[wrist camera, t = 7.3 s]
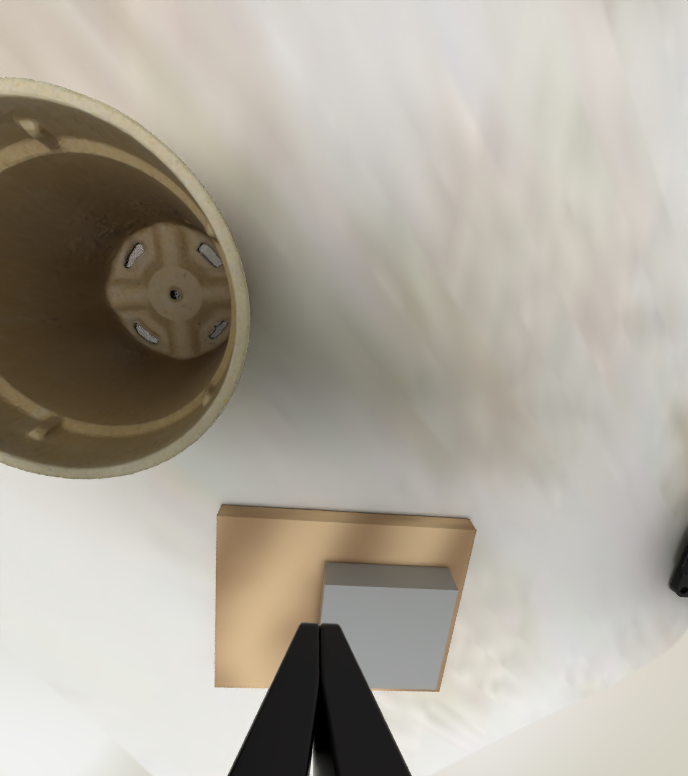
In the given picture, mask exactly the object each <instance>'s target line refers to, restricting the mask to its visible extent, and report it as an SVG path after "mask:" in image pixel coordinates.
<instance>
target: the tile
mask: <svg viewBox="0 0 688 776" xmlns="http://www.w3.org/2000/svg"><path fill="white" fill-rule="evenodd" d="M457 594H458V588H457V586H456V584H455V582H454V579H453V577H452V575H451V572H450V570H449V568H440V567H418V566H397V565H376V564H354V563H333V562H325V565H324V574H323V583H322V593H321V602H320V612H319V621H318V624H319V627H320V625H321V624H322V623H337V624H339V625H340V627H341V628H342V631H343V633H344V635H345V637H346V639H347V641H348V643H349V645H350V647H351V649H352V652H353V654H354V656H355V658H356V660H357V662H358V664H359V666H360V668H361V670H362V673H363V675H364V677H365V679H366V681H367V683H368V685H369V687H370V688H375V689H425V690H436V687H437V683H438V678H439V674H440V669H441V665H442V661H443V656H444V652H445V647H446V643H447V638H448V634H449V630H450V625H451V621H452V616H453V612H454V608H455V603H456V599H457Z"/></svg>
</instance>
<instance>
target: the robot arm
mask: <svg viewBox="0 0 688 776" xmlns="http://www.w3.org/2000/svg"><path fill="white" fill-rule="evenodd" d="M671 590H672V591H673V592H675V593H676V594H677V595H678V596H680V597H688V545H687V548H686V550H685V552H684V555H683V557H682V560H681V562H680V565H679V567H678V569H677V572H676V574H675V577H674V579H673V582H672V584H671ZM312 749H313V776H412V775H411V773H410V771H409V769H408V767H407V765H406V763H405V761H404V759H403V756H402V754H401V752H400V750H399V748H398V746H397V744H396V742H395V740H394V738H393V735H392V733H391V731H390V729H389V727H388V725H387V723H386V721H385V719H384V717H383V714H382V712H381V710H380V708H379V706H378V704H377V702H376V700H375V698H374V696H373V694H372V691H371V689H370V687H369V685H368V683H367V681H366V679H365V677H364V675H363V673H362V670H361V668H360V666H359V664H358V662H357V660H356V658H355V656H354V654H353V652H352V649H351V647H350V645H349V643H348V641H347V639H346V637H345V635H344V633H343V631H342V628H341V627H340V625H339V624H337V623H322V624H321V625H320V627H319V624H318V623H311V622H302V623H300V625H299V626H298V628H297V630H296V632H295V635H294V637H293V639H292V641H291V643H290V645H289V647H288V649H287V651H286V653H285V656H284V658H283V660H282V662H281V664H280V666H279V668H278V670H277V672H276V675H275V677H274V679H273V681H272V683H271V685H270V687H269V689H268V691H267V694H266V696H265V698H264V700H263V702H262V704H261V706H260V708H259V710H258V712H257V715H256V717H255V719H254V721H253V723H252V725H251V727H250V729H249V731H248V734H247V736H246V738H245V740H244V742H243V744H242V746H241V748H240V750H239V752H238V755H237V757H236V759H235V761H234V763H233V765H232V767H231V769H230V771H229V774H228V776H309V775H310V766H311V758H312Z"/></svg>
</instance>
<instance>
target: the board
mask: <svg viewBox="0 0 688 776" xmlns="http://www.w3.org/2000/svg"><path fill="white" fill-rule="evenodd" d="M475 534H476V529H475V527H474V526H473V524H472V522H471V521H470V519H458V518H441V517H423V516H406V515H389V514H371V513H354V512H337V511H319V510H302V509H285V508H267V507H250V506H233V505H222V506H221V508H220V510H219V512H218V514H217V541H216V620H215V687H227V688H269V687H270V685H271V683H272V681H273V679H274V677H275V675H276V672H277V670H278V668H279V666H280V664H281V662H282V660H283V658H284V656H285V653H286V651H287V649H288V647H289V645H290V643H291V641H292V639H293V637H294V635H295V632H296V630H297V628H298V626H299V625H300V623H302V622H311V623H318V621H319V612H320V602H321V593H322V583H323V574H324V565H325V562H333V563H354V564H376V565H397V566H418V567H440V568H449V570H450V572H451V575H452V577H453V579H454V582H455V584H456V586H457V588H458V594H457V599H456V603H455V608H454V612H453V616H452V621H451V625H450V630H449V634H448V638H447V643H446V647H445V652H444V656H443V661H442V665H441V669H440V674H439V678H438V683H437V687H436V690H425V689H375V688H370V689H371V690H380V691H431V692H439V690H440V686H441V682H442V677H443V673H444V668H445V664H446V660H447V655H448V651H449V647H450V642H451V638H452V634H453V629H454V625H455V621H456V616H457V612H458V608H459V603H460V599H461V595H462V590H463V586H464V582H465V577H466V573H467V568H468V564H469V560H470V555H471V551H472V547H473V542H474V538H475Z"/></svg>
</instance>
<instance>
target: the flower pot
mask: <svg viewBox="0 0 688 776" xmlns="http://www.w3.org/2000/svg"><path fill="white" fill-rule="evenodd" d="M138 243H140V244H142V245H143V248H144V252H143V254H142V255H141V256H139V257H138V258H137V259H136V260H135V262H134V263H133V265H132V266H131V267H130V268H127V267H125V264H126V262H127V257H128V255H129V254H130V252H131V251H132V249H133V248H134V246H135V245H137V244H138ZM201 244H207V245H208V246H210V247H211V248H212V250H213V251H214V252H215V253H216V255H217V256H218V257H219V258H220V259H221V261H222V265H220V266H219V267H215V266H213V265H212V264H211V263H210V262H209V261H208V260H207V259H206V257H205V256H204V255H202V254H201V253H199V252H198V248H199V246H200V245H201ZM172 290H176V291H178V292H179V298H178V299H173V298H171V291H172ZM222 321H225V322H227V325H226V326H225V328H224V329H223V330H222V332H221V333H220V334H219V335H218V336H217V337H215V338H210V337H209V336H210V334H212V332H213V331H214V330H215V328H214V326H215V325H216V326H218V325H219V324H221V323H222ZM135 323H138V324H139V325H140V326H141V327H142V328H143V329H145V330H146V331H147V332H149V333H150V334H151V335H152V336H154V337H155V338H157V339H158V343H157V344H154V343H152V342H148V341H147V340H145V339H144V338H143V337H142V336H140V335H139V334H138V333H137V331H136V329H135V326H134V325H135ZM249 334H250V304H249V292H248V287H247V282H246V277H245V273H244V269H243V265H242V262H241V259H240V256H239V253H238V250H237V248H236V245H235V243H234V240H233V238H232V235H231V233H230V230H229V229H228V227H227V225H226V223H225V221H224V219H223V217H222V215H221V213H220V212H219V210H218V208H217V206H216V204H215V202H214V201H213V200H212V198H211V197H210V195H209V194H208V192H207V191H206V190H205V188H204V187H203V185H202V184H201V183H200V181H199V180H198V179H197V178H196V176H195V175H194V174H193V173H192V172H191V171H190V169H189V168H188V167H187V166H186V165H185V164H184V163H183V162H182V161H181V160H180V159H179V158H178V157H177V156H176V155H175V154H174V153H173V152H172V151H171V150H170V149H169V148H168V147H167V146H166V145H165V144H164V143H163V142H161V141H160V140H159V139H158V138H157V137H155V136H154V135H153V134H152V133H151V132H149V131H148V130H147V129H145V128H144V127H143V126H142V125H140V124H139V123H138V122H136V121H134V120H133V119H131V118H129V117H128V116H126V115H125V114H123V113H121V112H120V111H118V110H116V109H114V108H113V107H111V106H109V105H107V104H105V103H102V102H100V101H98V100H95V99H93V98H90V97H88V96H86V95H83V94H80V93H77V92H75V91H72V90H69V89H66V88H63V87H60V86H56V85H53V84H50V83H46V82H42V81H34V80H32V79H26V78H7V77H5V78H0V462H1V463H3V464H6V465H8V466H12V467H15V468H18V469H21V470H24V471H27V472H32V473H36V474H39V475H40V474H42V475H46V476H54V477H62V478H69V479H97V478H98V479H101V478H110V477H116V476H124V475H128V474H134V473H136V472H139V471H142V470H146V469H149V468H151V467H154V466H157V465H159V464H160V463H162V462H164V461H167V460H169V459H170V458H172V457H175V456H176V455H177V454H179V453H180V452H182V451H183V450H185V449H186V448H187V447H189V446H190V445H191V444H193V443H194V442H195V441H197V440H198V439H199V438H200V437H201V436H202V435H203V434H204V433H205V432H206V431H207V429H208V428H209V427H210V426H211V425H212V424H213V423H214V421H215V420H216V419H217V418H218V416H219V415H220V414H221V412H222V411H223V409H224V408H225V406H226V405H227V403H228V401H229V400H230V398H231V397H232V394H233V392H234V390H235V388H236V386H237V383H238V381H239V379H240V377H241V373H242V370H243V367H244V364H245V359H246V355H247V350H248V343H249Z"/></svg>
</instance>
